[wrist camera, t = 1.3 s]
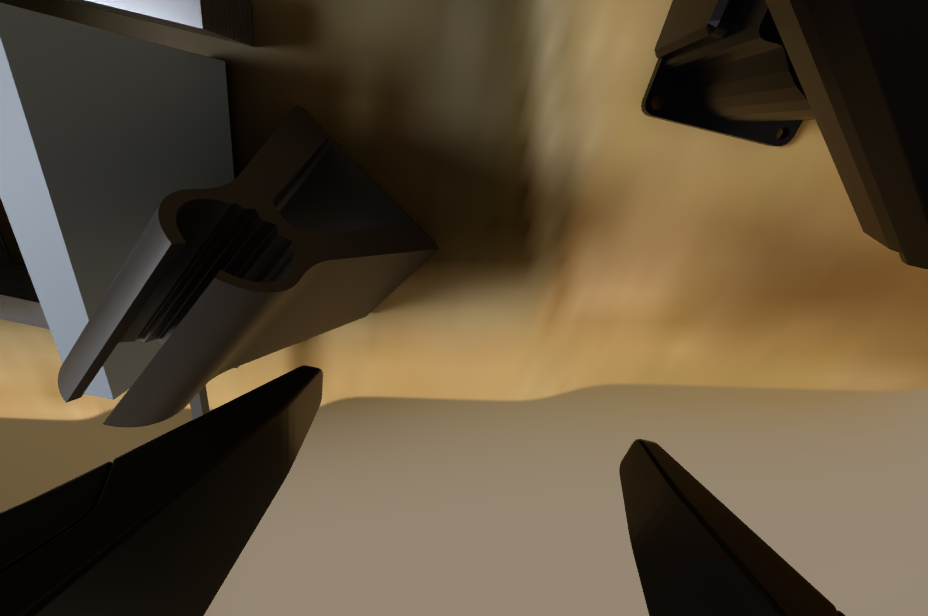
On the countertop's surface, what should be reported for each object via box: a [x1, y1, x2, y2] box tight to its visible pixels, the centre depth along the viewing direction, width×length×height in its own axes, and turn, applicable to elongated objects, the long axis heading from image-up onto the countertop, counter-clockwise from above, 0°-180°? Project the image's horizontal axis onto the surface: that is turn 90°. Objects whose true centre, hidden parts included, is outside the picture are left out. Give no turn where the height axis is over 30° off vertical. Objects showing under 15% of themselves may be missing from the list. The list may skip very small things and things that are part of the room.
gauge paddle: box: [0, 2, 234, 420], centre depth 16 cm, size 2×18×8 cm, turn 168°
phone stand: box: [58, 105, 439, 427], centre depth 13 cm, size 9×6×12 cm, turn 43°
